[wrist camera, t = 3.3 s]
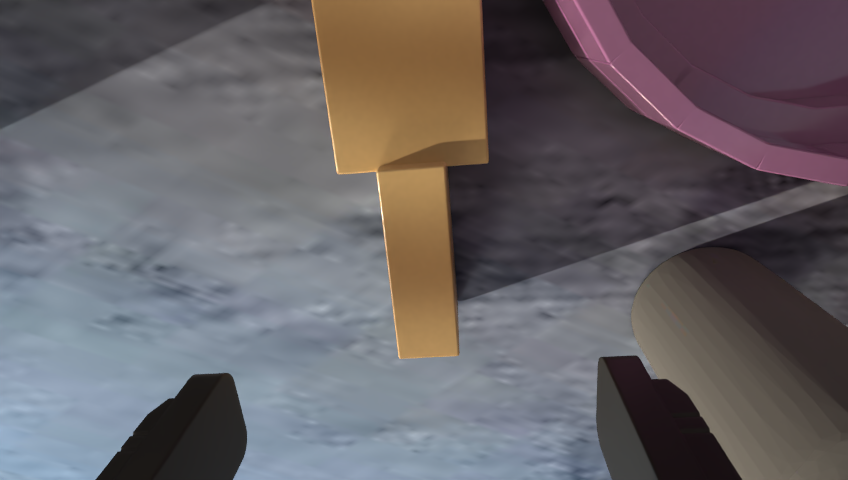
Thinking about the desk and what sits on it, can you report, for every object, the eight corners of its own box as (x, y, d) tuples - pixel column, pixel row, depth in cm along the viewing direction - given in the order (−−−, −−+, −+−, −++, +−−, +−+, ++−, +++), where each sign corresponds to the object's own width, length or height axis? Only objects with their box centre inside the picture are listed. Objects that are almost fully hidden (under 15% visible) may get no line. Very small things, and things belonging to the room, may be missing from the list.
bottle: (734, 217, 21) (1282, 576, 7) (797, 323, 23) (1348, 788, 9) (603, 295, 23) (850, 720, 9) (670, 390, 24) (971, 879, 10)
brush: (490, 301, 23) (498, 354, 19) (374, 308, 23) (360, 361, 20) (475, -13, 19) (482, -23, 15) (332, 1, 19) (304, -5, 15)
